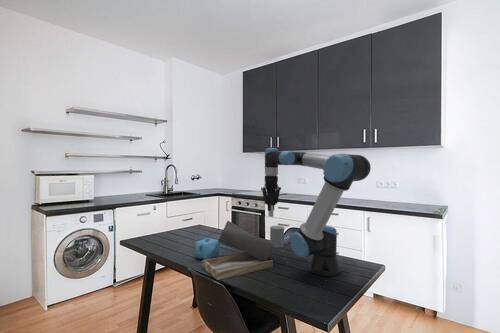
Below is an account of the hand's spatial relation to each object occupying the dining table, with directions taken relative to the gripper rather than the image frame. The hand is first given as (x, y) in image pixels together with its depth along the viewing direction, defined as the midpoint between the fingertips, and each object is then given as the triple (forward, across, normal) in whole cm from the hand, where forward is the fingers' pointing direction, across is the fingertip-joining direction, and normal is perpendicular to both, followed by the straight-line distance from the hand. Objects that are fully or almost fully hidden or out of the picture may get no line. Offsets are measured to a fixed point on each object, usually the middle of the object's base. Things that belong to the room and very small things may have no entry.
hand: (270, 216), depth 155 cm
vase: (+21, 0, 0) cm, 21 cm away
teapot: (+25, +30, -21) cm, 44 cm away
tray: (+25, +21, 0) cm, 33 cm away
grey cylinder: (+25, -20, -21) cm, 39 cm away
